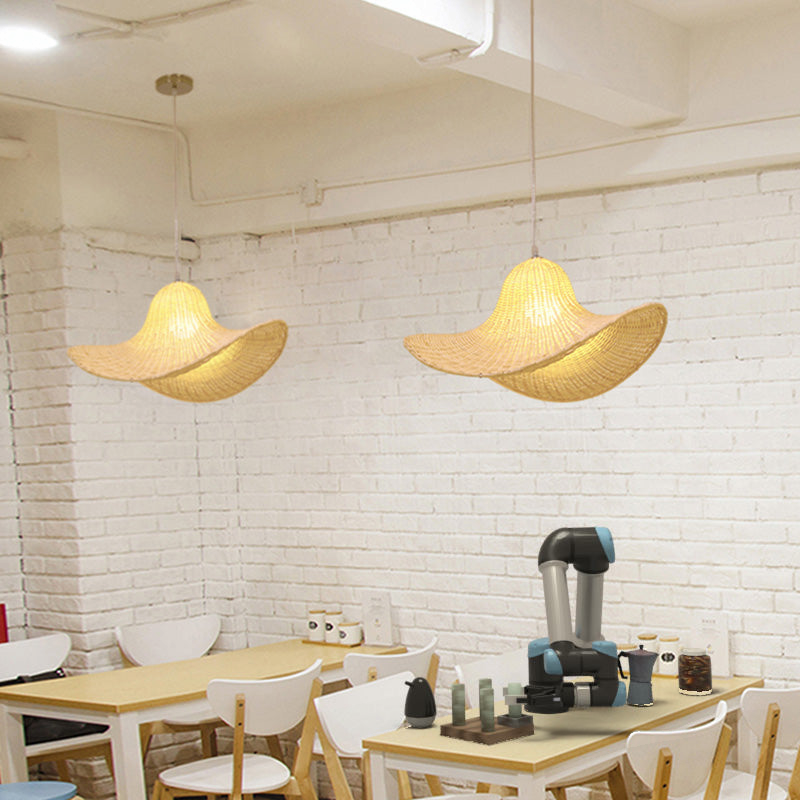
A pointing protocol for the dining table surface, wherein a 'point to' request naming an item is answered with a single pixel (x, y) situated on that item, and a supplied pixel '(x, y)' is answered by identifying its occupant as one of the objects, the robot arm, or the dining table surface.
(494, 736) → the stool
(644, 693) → the moka pot
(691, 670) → the jar
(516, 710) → the green leg
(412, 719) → the pump dispenser
